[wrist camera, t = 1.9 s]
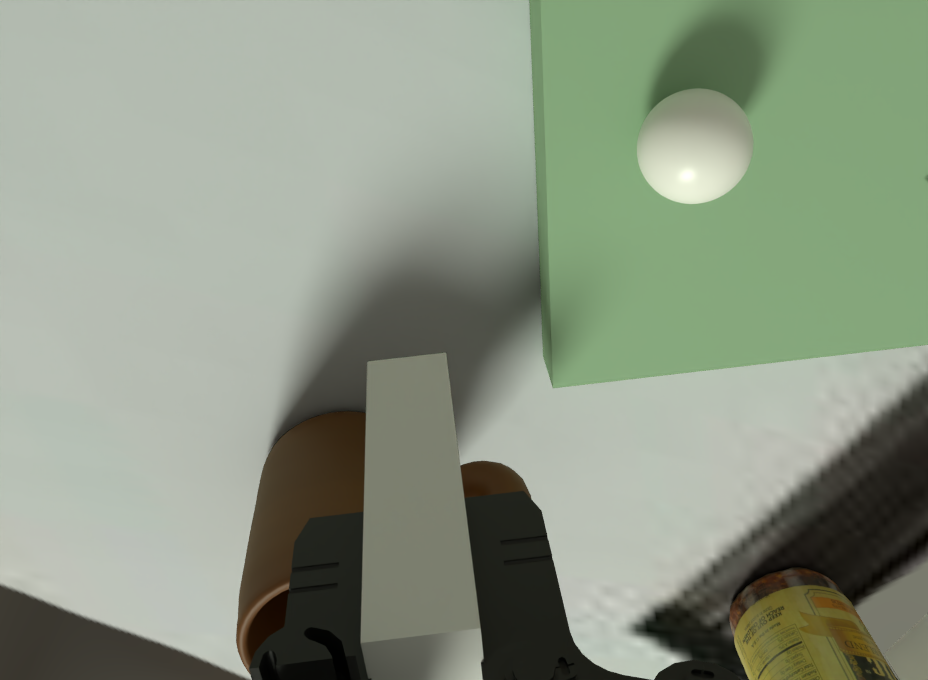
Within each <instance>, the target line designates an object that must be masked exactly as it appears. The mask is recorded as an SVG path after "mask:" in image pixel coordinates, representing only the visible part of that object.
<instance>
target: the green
mask: <svg viewBox="0 0 928 680" xmlns="http://www.w3.org/2000/svg"><path fill="white" fill-rule="evenodd" d="M529 3H530V29H531V55H532V80H533V106H534V132H535V158H536V184H537V210H538V236H539V262H540V288H541V314H542V340H543V357H544V360H545V364H546V367H547V370H548V373H549V377H550V380H551V383H552V386H553V388H559V387H568V386H576V385H585V384H594V383H602V382H611V381H620V380H628V379H637V378H645V377H654V376H663V375H671V374H680V373H689V372H697V371H706V370H714V369H723V368H732V367H740V366H749V365H757V364H766V363H775V362H783V361H792V360H801V359H809V358H818V357H826V356H835V355H844V354H852V353H861V352H869V351H878V350H887V349H895V348H904V347H913V346H921V345H928V0H529ZM695 88H702V89H710V90H714V91H717V92H720V93H722V94H724V95H726V96H727V97H729V98H731V99H732V100H733V101H735V102H736V103H737V104H738V105H739V106H740V108H741V109H742V110H743V111H744V113H745V114H746V116H747V118H748V120H749V122H750V125H751V128H752V132H753V141H754V143H753V154H752V158H751V161H750V164H749V166H748V169H747V171H746V173H745V174H744V176H743V177H742V179H741V180H740V181H739V182H738V184H737V185H736V186H735V187H734V188H732V189H731V190H730V191H729V192H727V193H726V194H725V195H723V196H721V197H719V198H717V199H715V200H712V201H709V202H705V203H699V204H684V203H679V202H675V201H672V200H669V199H667V198H666V197H664V196H662V195H660V194H659V193H658V192H656V191H655V190H654V189H653V188H652V187H651V186H650V185H649V184H648V182H647V181H646V179H645V178H644V176H643V174H642V172H641V170H640V167H639V164H638V158H637V140H638V136H639V132H640V129H641V126H642V124H643V122H644V120H645V118H646V117H647V115H648V114H649V113H650V111H651V110H652V109H653V108H654V107H655V106H656V105H657V104H658V103H659V102H661V101H662V100H663V99H665V98H666V97H668V96H670V95H672V94H674V93H676V92H680V91H683V90H687V89H695Z"/></svg>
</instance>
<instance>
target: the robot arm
mask: <svg viewBox="0 0 928 680" xmlns="http://www.w3.org/2000/svg"><path fill="white" fill-rule="evenodd" d="M291 569H292V573H291V575H290V583H289V594H288V600H287V608H286V617H285V625H284V627H283V628H281V629H280V630H278V631H277V632H275V633H273V634H272V635H270V636H268V638H267V639H266V640H265V641H264V642H263V643H262V644H261V646H260V647H259V648H258V649H257V650H256V651H255V654H254V656H253V659H252V662H251V664H250V667H249V671H250V674H251V678H252V680H649V679H643V678H637V677H631V676H625V675H621V674H618V673H614V672H610V671H607V670H605V669H603V668H601V667H599V666H597V665H596V664H594V663H593V662H591V661H590V660H589V659H588V658H587V657H585V656H584V655H583V654H582V653H581V651H580V650H579V649H578V647H577V646H576V645H575V643H574V641H573V638H572V636H571V633H570V630H569V626H568V622H567V617H566V613H565V609H564V605H563V600H562V596H561V592H560V588H559V583H558V579H557V575H556V571H555V566H554V562H553V560H552V554H551V549H550V545H549V541H548V539H547V533H546V528H545V524H544V520H543V516H542V511H541V510H540V509H539V507H538V506H537V505H536V504H535V503H534V502H533V501H532V500H531V498H530V497H529V496H528V495H527V494H526V493H525V492H524V491H518V492H509V493H501V494H492V495H484V496H475V497H467V498H464V492H463V484H462V476H461V468H460V460H459V452H458V444H457V436H456V428H455V420H454V412H453V404H452V396H451V388H450V380H449V372H448V364H447V356H446V353H438V354H429V355H420V356H411V357H403V358H394V359H385V360H376V361H367V394H366V436H365V478H364V512H357V513H348V514H340V515H332V516H323V517H315V518H310V519H309V520H308V522H307V523H306V525H305V526H304V528H303V530H302V531H301V533H300V534H299V536H298V537H297V539H296V540H295V542H294V550H293V558H292V566H291ZM654 680H741V679H740V678H738V677H737V676H736V675H735V674H734V673H733V672H731V671H729V670H727V669H725V668H723V667H721V666H719V665H717V664H715V663H709V662H703V661H697V660H691V661H685V662H679V663H674V664H672V665H671V666H669V667H667V668H666V669H664V670H662V671H660V672H659V673H658V675H657V676H656V678H655V679H654Z"/></svg>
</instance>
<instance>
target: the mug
mask: <svg viewBox="0 0 928 680" xmlns="http://www.w3.org/2000/svg"><path fill="white" fill-rule="evenodd" d="M365 436H366V413H363V412H353V411H343V412H333V413H327V414H323V415H319V416H316V417H313V418H311V419H308V420H306V421H304V422H302V423H300V424H298V425H297V426H295V427H294V428H292V429H291V430H289V431H288V432H287V433H286V434H284V435H283V436H282V437H281V438H280V439H279V440H278V442H277V443H276V444H275V445H274V447H273V448H272V450H271V452H270V453H269V455H268V457H267V459H266V462H265V464H264V467H263V471H262V475H261V479H260V484H259V489H258V495H257V500H256V506H255V511H254V516H253V521H252V525H251V531H250V536H249V542H248V547H247V553H246V558H245V564H244V570H243V575H242V581H241V587H240V594H239V607H238V621H237V634H236V643H237V648H238V652H239V655H240V657H241V660H242V662H243V664H244V666H245V667H246V669H247V671H248V672H249V673H250V671H249V667H250V664H251V662H252V659H253V656H254V654H255V651H256V650H257V649H258V648H259V647H260V646H261V644H262V643H263V642H264V641H265V640H266V639H267V638H268V636H270V635H272V634H273V633H275V632H277V631H278V630H280V629H281V628H283V627H284V625H285V617H286V608H287V600H288V594H289V583H290V575H291V573H292V569H291V566H292V558H293V550H294V542H295V540H296V539H297V537H298V536H299V534H300V533H301V531H302V530H303V528H304V526H305V525H306V523H307V522H308V520H309V519H310V518H315V517H323V516H332V515H340V514H348V513H357V512H364V478H365ZM460 468H461V476H462V484H463V492H464V498H467V497H475V496H484V495H492V494H501V493H509V492H518V491H524V492H525V493H526V494H527V495H528V496H529V497H530V498H531V495H530V493H529V491H528V489H527V487H526V485H525V483H524V481H523V479H522V478H521V477H520V476H519V475H518V474H517V473H516V472H515V471H514V470H512V469H511V468H509V467H507V466H505V465H503V464H501V463H496V462H489V461H475V462H471V463H467V464H463V465H461V466H460Z"/></svg>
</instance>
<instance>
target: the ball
mask: <svg viewBox="0 0 928 680" xmlns="http://www.w3.org/2000/svg"><path fill="white" fill-rule="evenodd" d="M753 143H754V141H753V132H752V128H751V125H750V122H749V120H748V118H747V116H746V114H745V113H744V111H743V110H742V109H741V108H740V106H739V105H738V104H737V103H736V102H735V101H733V100H732V99H731V98H729V97H727V96H726V95H724V94H722V93H720V92H717V91H714V90H710V89H702V88H695V89H687V90H683V91H680V92H676V93H674V94H672V95H670V96H668V97H666V98H665V99H663V100H662V101H661V102H659V103H658V104H657V105H656V106H655V107H654V108H653V109H652V110H651V111H650V113H649V114H648V115H647V117H646V118H645V120H644V122H643V124H642V126H641V129H640V132H639V136H638V140H637V158H638V164H639V167H640V170H641V172H642V174H643V176H644V178H645V179H646V181H647V182H648V184H649V185H650V186H651V187H652V188H653V189H654V190H655V191H656V192H658V193H659V194H660V195H662V196H664V197H666V198H667V199H669V200H672V201H675V202H679V203H684V204H699V203H705V202H709V201H712V200H715V199H717V198H719V197H721V196H723V195H725V194H726V193H727V192H729V191H730V190H731V189H732V188H734V187H735V186H736V185H737V184H738V182H739V181H740V180H741V179H742V177H743V176H744V174H745V173H746V171H747V169H748V166H749V164H750V161H751V158H752V154H753Z"/></svg>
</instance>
